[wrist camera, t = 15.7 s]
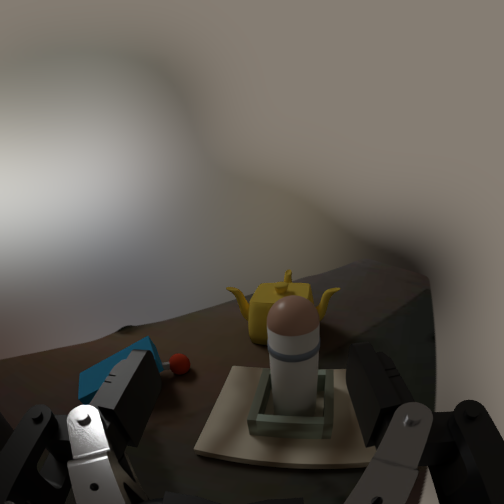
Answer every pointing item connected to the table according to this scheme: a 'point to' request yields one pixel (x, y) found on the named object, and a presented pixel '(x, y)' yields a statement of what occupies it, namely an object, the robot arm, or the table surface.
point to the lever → (99, 372)
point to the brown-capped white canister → (294, 355)
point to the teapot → (266, 299)
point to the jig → (284, 425)
